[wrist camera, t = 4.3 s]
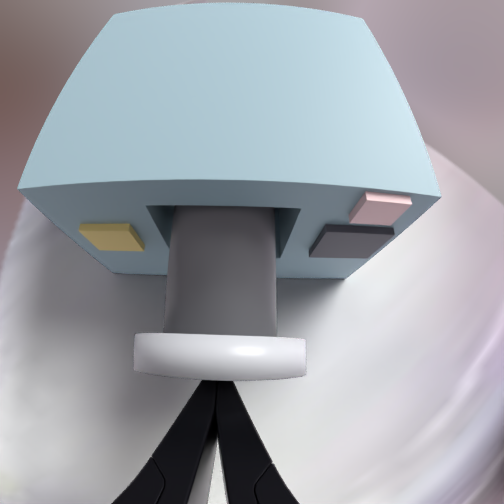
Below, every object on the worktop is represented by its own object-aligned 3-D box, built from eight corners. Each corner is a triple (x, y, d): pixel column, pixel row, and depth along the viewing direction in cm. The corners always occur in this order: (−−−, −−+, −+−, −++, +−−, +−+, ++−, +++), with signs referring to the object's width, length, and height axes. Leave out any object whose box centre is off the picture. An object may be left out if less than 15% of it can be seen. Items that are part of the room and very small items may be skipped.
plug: (289, 370, 13) (328, 378, 7) (157, 366, 13) (104, 369, 7) (280, 122, 18) (295, 44, 12) (184, 120, 18) (171, 43, 12)
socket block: (346, 283, 18) (443, 204, 8) (112, 277, 17) (14, 196, 8) (325, 126, 22) (362, 18, 12) (144, 122, 21) (114, 14, 12)
